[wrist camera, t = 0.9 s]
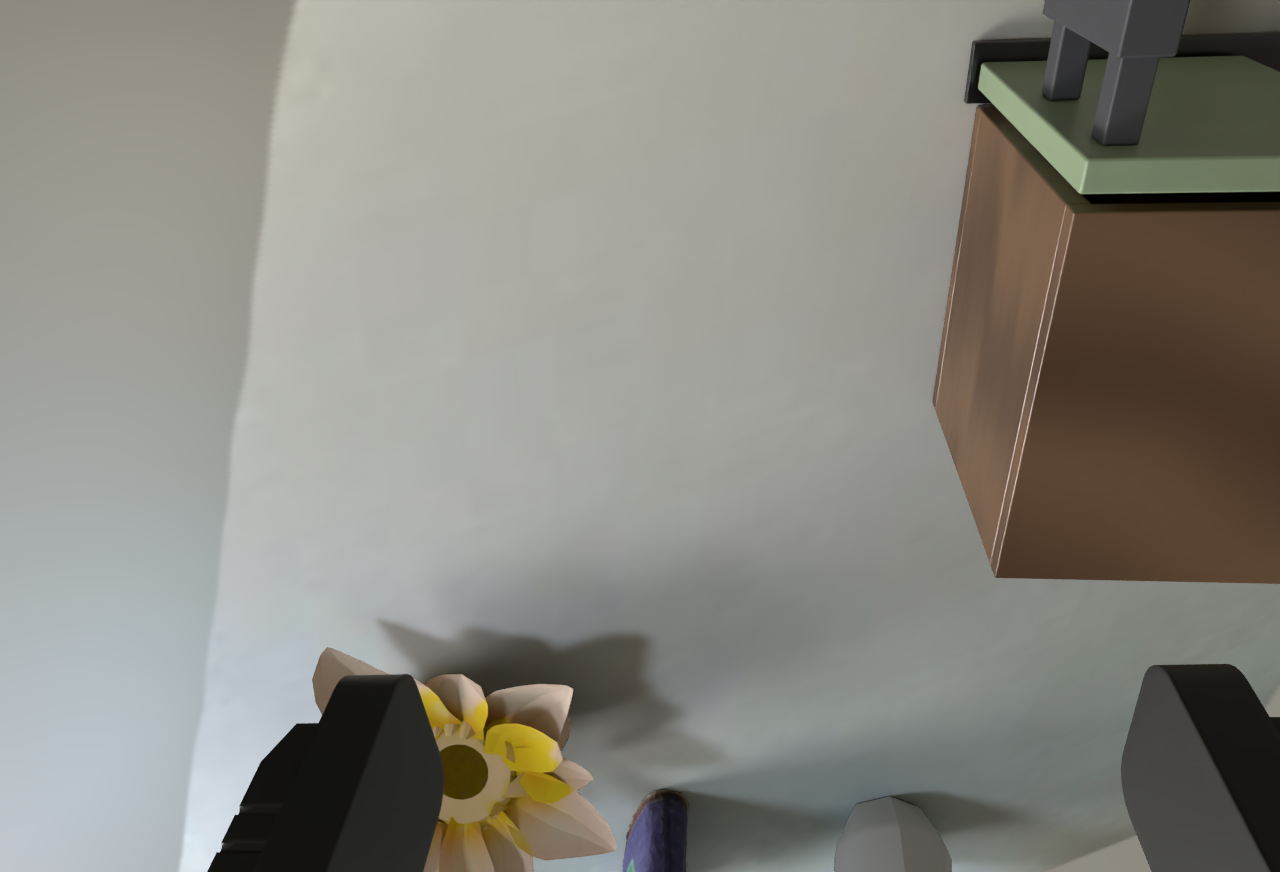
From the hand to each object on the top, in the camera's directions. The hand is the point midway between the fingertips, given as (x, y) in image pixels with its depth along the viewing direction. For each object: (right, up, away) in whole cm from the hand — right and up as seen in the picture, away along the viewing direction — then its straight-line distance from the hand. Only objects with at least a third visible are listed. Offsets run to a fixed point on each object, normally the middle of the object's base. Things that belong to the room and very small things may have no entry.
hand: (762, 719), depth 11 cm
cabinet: (+16, +9, +21) cm, 29 cm away
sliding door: (+13, +16, +17) cm, 26 cm away
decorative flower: (-9, -10, +37) cm, 39 cm away
